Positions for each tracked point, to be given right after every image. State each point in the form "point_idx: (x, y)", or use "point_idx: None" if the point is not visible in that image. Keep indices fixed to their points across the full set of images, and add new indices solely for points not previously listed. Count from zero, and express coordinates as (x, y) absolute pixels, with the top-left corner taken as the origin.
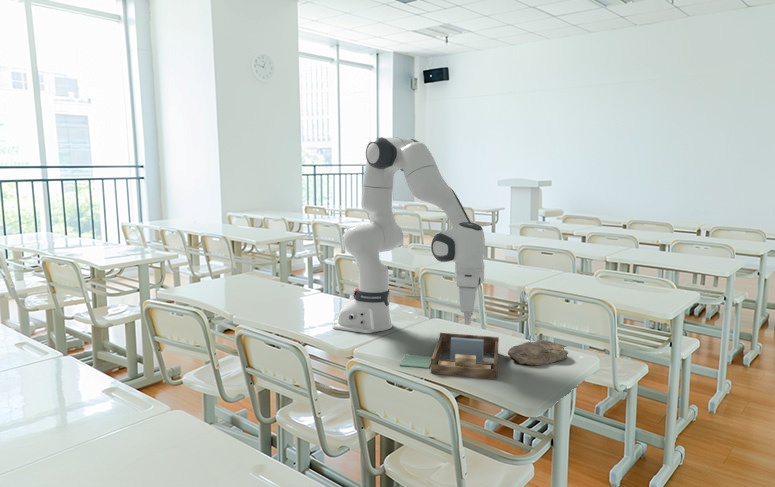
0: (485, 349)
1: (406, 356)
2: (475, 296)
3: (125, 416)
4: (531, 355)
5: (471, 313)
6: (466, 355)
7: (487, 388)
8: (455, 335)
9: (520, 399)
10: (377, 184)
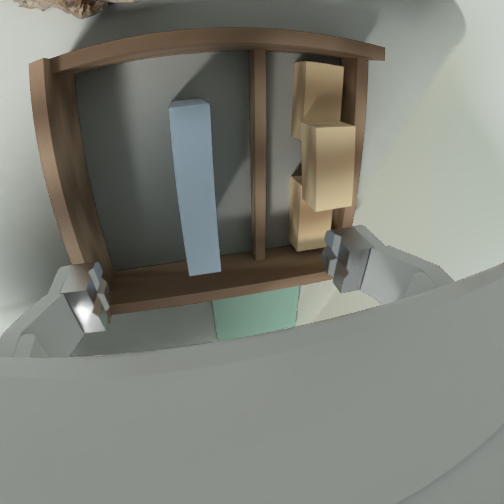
0: (72, 115)
1: (231, 334)
2: (115, 458)
3: None
4: None
5: (91, 281)
6: (323, 167)
7: (412, 87)
8: None
9: (445, 23)
10: None
